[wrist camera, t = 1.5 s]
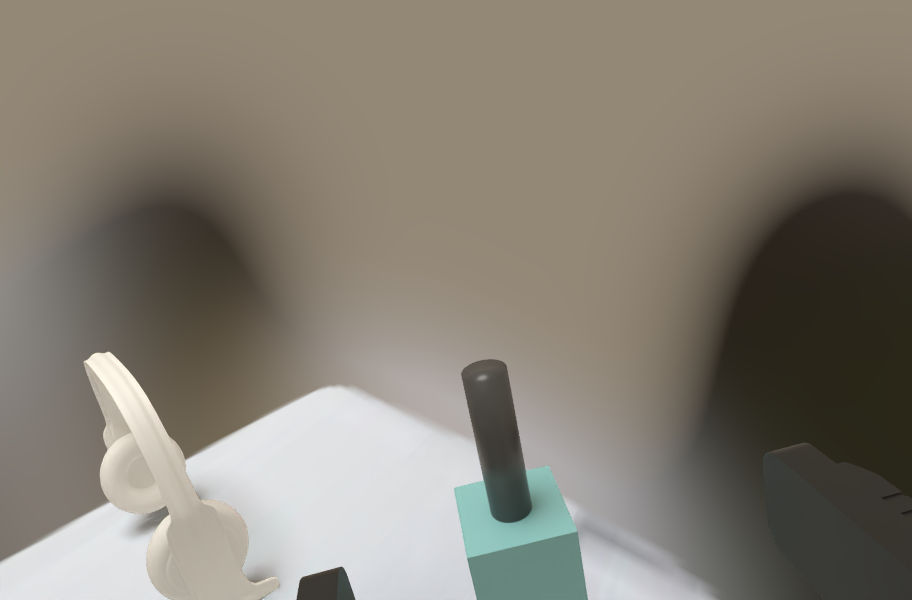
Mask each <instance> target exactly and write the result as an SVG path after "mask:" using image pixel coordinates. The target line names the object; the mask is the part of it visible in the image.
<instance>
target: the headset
mask: <svg viewBox="0 0 912 600" xmlns="http://www.w3.org/2000/svg"><path fill="white" fill-rule="evenodd" d="M84 366H85V369H86V372H87V375H88V378H89V380H90V383H91V385H92V388H93V390H94V393H95V395H96V397H97V400H98V402H99V405H100V407H101V410H102V412H103V415H104V418H105V421H106V428H105V430H104V433H103V438H104V441H105V444H106V447H107V449H108V451H107V453H106V454H105V456H104V458H103V461H102V464H101V469H100V481H101V486H102V489H103V492H104V493H105V495H106V497H107V498H108V500H109V501H110V502H111V503H112V504H113V505H115V506H116V507H117V508H119V509H121V510H123V511H126V512H129V513H134V514H146V513H151V512H154V511H157V510H159V509H161V508H163V507H164V506H166V507H167V509H168V512H169V515H168V516H167V517H166V518H165V519H164V520H163V521H162V522H161V523H160V524H159V526H158V527H157V528H156V530H155V532H154V534H153V536H152V538H151V540H150V543H149V546H148V550H147V557H146V564H147V571H148V575H149V578H150V580H151V582H152V584H153V585H154V587H155V588H156V589H157V590H158V591H159V592H160V593H161V594H162V595H164V596H165V597H167V598H169V599H171V600H260V599H261V598H263V597H265V596H267V595H268V594H270V593H271V592H273V591H274V590H276V589H277V588H278V587H279V581H278V579H277V578H276V577H270V578H267V579H265V580H263V581H260V582H257V583H252V582H250V581H249V580H248V579H247V578H246V577H245V575H244V573H243V571H242V569H241V568H242V566H243V564H244V562H245V559H246V556H247V551H248V544H249V539H248V531H247V527H246V525H245V522H244V520H243V519H242V517H241V516H240V514H239V513H238V512H237V511H236V510H235V509H233V508H232V507H231V506H229V505H227V504H225V503H223V502H220V501H216V500H200V499H199V497H198V495H197V494H196V492H195V490H194V488H193V486H192V484H191V482H190V479H189V477H188V475H187V473H186V465H185V459H184V455H183V453H182V451H181V449H180V447H179V446H178V445H177V443H176V442H175V441H174V440H173V439H171V438H170V437H168V434H167V433H166V431H165V429H164V427H163V425H162V423H161V421H160V419H159V417H158V415H157V414H156V412H155V410H154V408H153V407H152V405H151V403H150V401H149V399H148V398H147V396H146V395H145V393H144V392H143V390H142V388H141V387H140V385H139V384H138V383H137V381H136V380H135V378H134V377H133V376H132V375H131V373H130V372H129V371H128V370H127V369H126V368H125V367H124V366H123V364H121V362H120V361H119V360H118V359H117V358H116V357H115V356H114V355H112V354H111V353H110V352H107V353H95V354H93V355H92V356H91V357H90V358H89V359H88V360H86V361H84Z"/></svg>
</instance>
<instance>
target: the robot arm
mask: <svg viewBox="0 0 912 600" xmlns="http://www.w3.org/2000/svg"><path fill="white" fill-rule="evenodd" d="M763 474H764V485H765V497H766V509H767V520H768V526H769V529H770V532H771V535H772V538H773V540H774V542H775V544H776V546H777V547H778V549H779V551H780V552H781V553H782V554H783V556H784V557H785V558H786V559H787V560H788V562H789V563H790V564H791V565H792V566H793V567H794V568H795V569H796V570H797V571H798V573H799V574H801V576H802V577H803V578H804V579H805V580H806V581H807V582H808V583H809V584H810V586H811V587H812V588H813V589H814V590H815V591H816V592H817V593H818V594H819V595H820V596H821V598H823V600H912V499H911V498H910V497H908V496H904V495H903V494H902V492H901V491H900V490H899V489H897V488H896V487H894V486H893V485H892V484H890V483H889V482H887V481H886V480H884V479H883V478H882V477H881V476H879V475H877V474H876V473H873V472H871V471H868V470H865V469H863V468H860V467H858V466H855V465H853V464H850V463H847V462H842V463H838V464H836V463H835V462H833V461H832V460H831V459H829V458H828V457H827V456H825V455H824V454H823V453H821V452H820V451H819V450H817V449H816V448H815V447H814V446H812V445H811V444H808V443H802V444H798V445H794V446H790V447H787V448H783V449H779V450H776V451H772V452H768V453H766V454H765V455H764V457H763ZM297 600H355V597H354V594H353V591H352V588H351V585H350V582H349V579H348V576H347V574H346V571H345V570H344V568H343V567H338V568H335V569H331V570H327V571H323V572H320V573H316V574H312V575H309V576H305V577H302V578H301V580H300V583H299V588H298V595H297Z"/></svg>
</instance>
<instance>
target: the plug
mask: <svg viewBox="0 0 912 600" xmlns="http://www.w3.org/2000/svg"><path fill="white" fill-rule="evenodd" d="M462 380H463V385H464V389H465V394H466V399H467V404H468V408H469V413H470V418H471V422H472V427H473V432H474V437H475V441H476V446H477V451H478V455H479V460H480V465H481V469H482V474H483V479H484V481H481V482H477V483H473V484H468V485H464V486H460V487H456V488H454V491H455V496H456V502H457V507H458V512H459V517H460V523H461V528H462V533H463V539H464V544H465V549H466V554H467V559H468V564H469V568H470V572H471V576H472V581H473V585H474V589H475V593H476V597H477V600H588V597H587V591H586V584H585V578H584V571H583V565H582V558H581V552H580V545H579V539H578V532H577V529H576V527H575V525H574V523H573V520H572V518H571V516H570V513H569V511H568V509H567V507H566V504H565V502H564V500H563V497H562V495H561V493H560V491H559V488H558V486H557V484H556V481H555V479H554V477H553V475H552V473H551V470H550V468H549V466H544V467H540V468H536V469H531V470H527V471H526V470H525V464H524V459H523V453H522V448H521V443H520V437H519V431H518V426H517V420H516V416H515V409H514V404H513V398H512V393H511V388H510V382H509V377H508V372H507V366H506V364H505V363H504V362H502V361H499V360H492V359H491V360H482V361H477V362H474V363H472V364H470V365H469V366H467V367H465V368H464V369H463V371H462Z"/></svg>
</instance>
